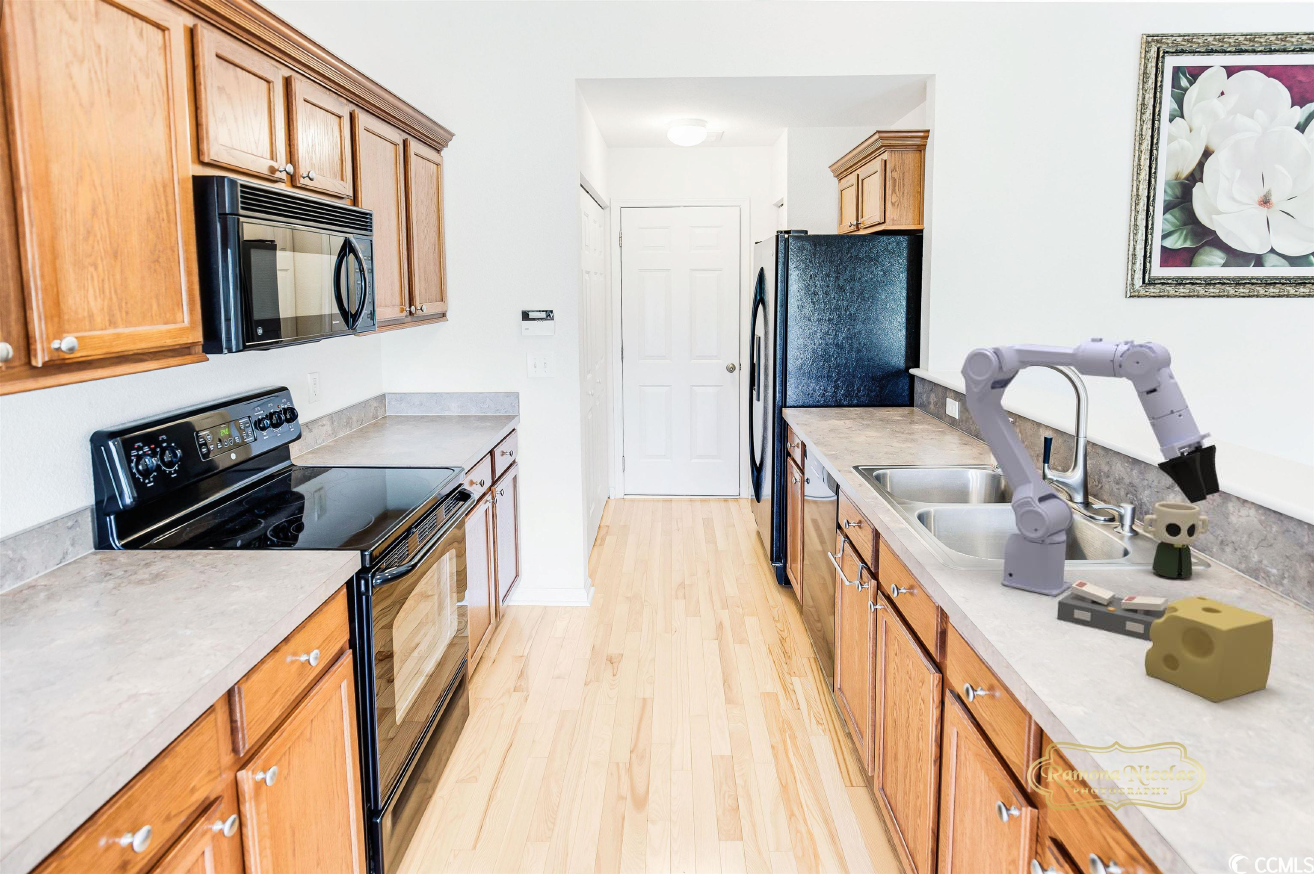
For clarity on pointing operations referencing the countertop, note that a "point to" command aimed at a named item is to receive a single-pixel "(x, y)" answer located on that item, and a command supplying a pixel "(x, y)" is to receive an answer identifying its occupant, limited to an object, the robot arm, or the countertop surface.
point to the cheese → (1211, 648)
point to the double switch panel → (1108, 615)
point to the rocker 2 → (1144, 603)
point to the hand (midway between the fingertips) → (1205, 497)
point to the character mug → (1174, 536)
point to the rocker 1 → (1092, 592)
